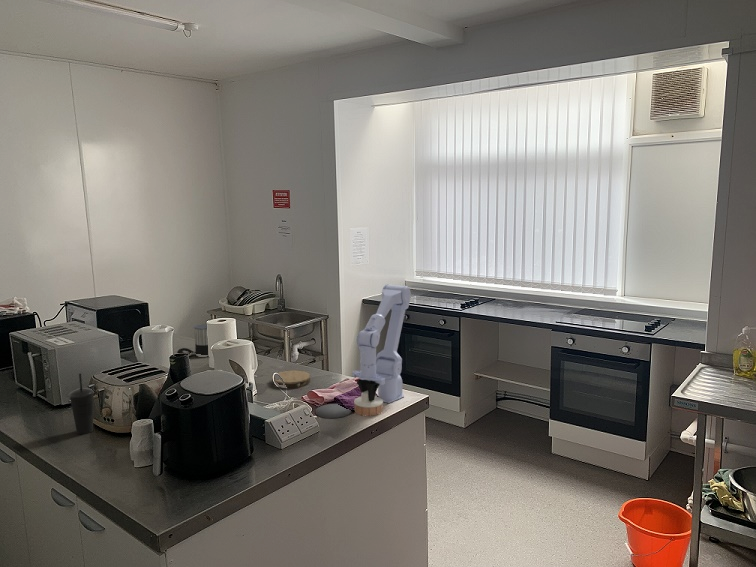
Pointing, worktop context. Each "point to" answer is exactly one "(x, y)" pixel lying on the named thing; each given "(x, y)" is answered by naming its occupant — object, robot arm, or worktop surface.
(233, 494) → the worktop surface
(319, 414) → the mat
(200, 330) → the milk frother
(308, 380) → the brown round disc
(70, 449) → the worktop surface
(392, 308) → the robot arm
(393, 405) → the worktop surface
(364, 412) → the bowl
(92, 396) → the drinking cup
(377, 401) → the lid
